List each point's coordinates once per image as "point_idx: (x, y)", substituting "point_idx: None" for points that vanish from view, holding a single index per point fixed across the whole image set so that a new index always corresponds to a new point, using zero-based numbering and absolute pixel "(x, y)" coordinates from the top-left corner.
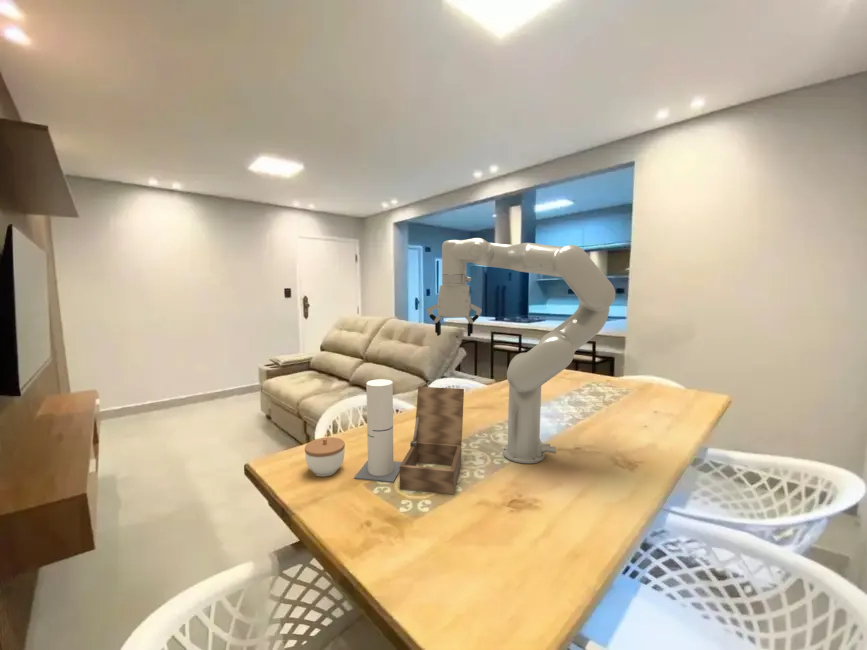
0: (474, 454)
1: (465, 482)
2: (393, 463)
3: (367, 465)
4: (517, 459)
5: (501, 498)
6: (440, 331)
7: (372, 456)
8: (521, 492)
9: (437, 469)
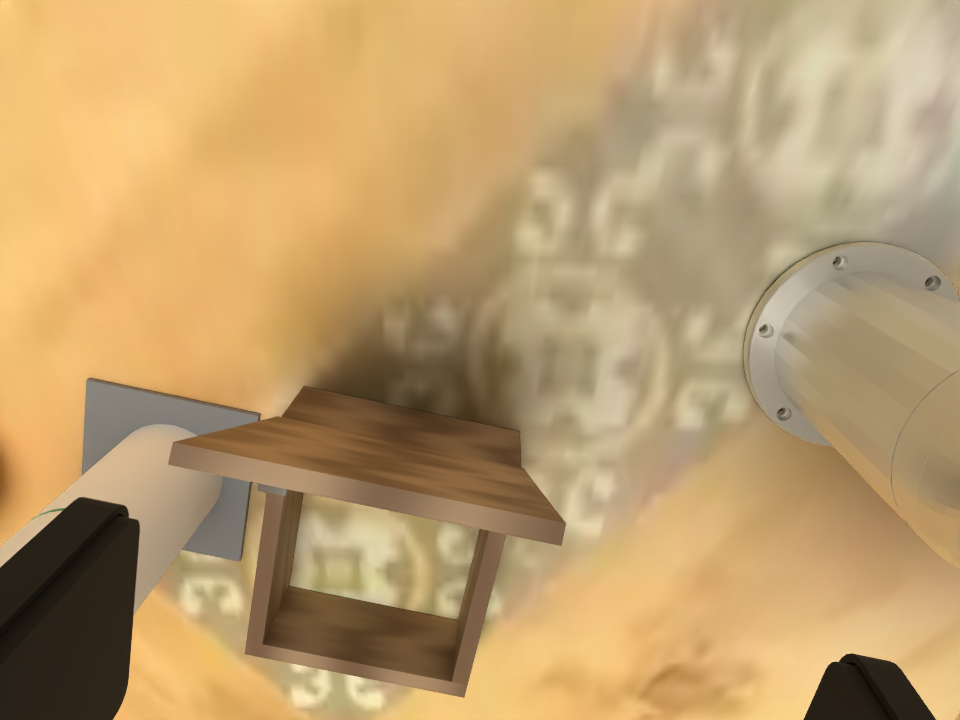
0: (598, 332)
1: (520, 564)
2: (212, 490)
3: (100, 439)
4: (790, 434)
5: (631, 660)
6: (98, 601)
7: None
8: (714, 632)
9: (399, 680)
